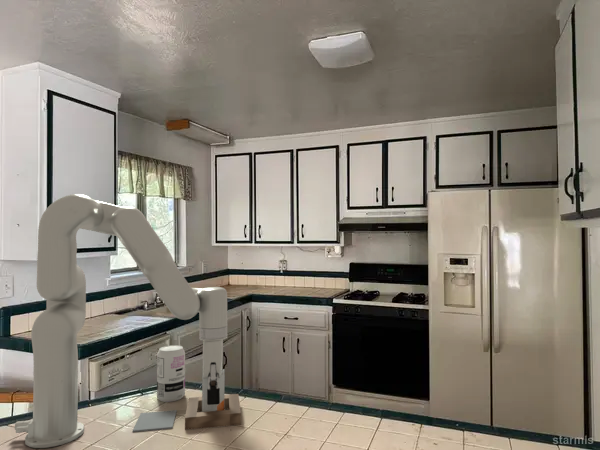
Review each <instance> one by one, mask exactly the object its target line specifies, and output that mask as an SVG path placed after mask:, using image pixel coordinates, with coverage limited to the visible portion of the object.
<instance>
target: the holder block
mask: <svg viewBox="0 0 600 450" xmlns="http://www.w3.org/2000/svg"><path fill="white" fill-rule="evenodd" d="M239 395H240V394H238V393H233V394H224V410H220V411H208V412H202V396H198V397H197V396H194V397H188V400H187V406H186V410H185V415H184V431H186V430H198V429H210V428H221V427H231V426H241V425H242V424H241V423H242V419H241V418H242V417H241V415H242V413H241V412H242V411H241V404H240V397H239Z"/></svg>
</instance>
